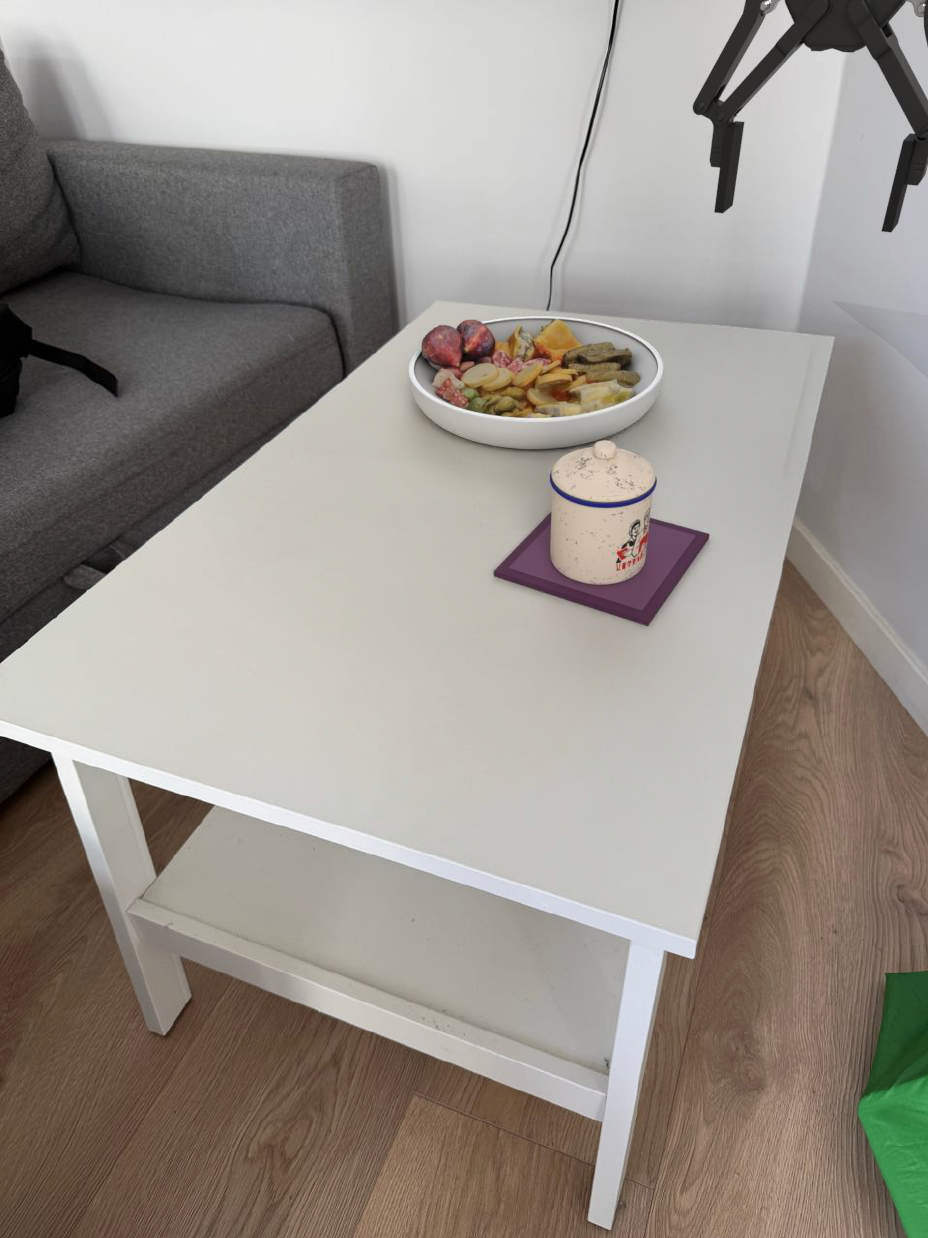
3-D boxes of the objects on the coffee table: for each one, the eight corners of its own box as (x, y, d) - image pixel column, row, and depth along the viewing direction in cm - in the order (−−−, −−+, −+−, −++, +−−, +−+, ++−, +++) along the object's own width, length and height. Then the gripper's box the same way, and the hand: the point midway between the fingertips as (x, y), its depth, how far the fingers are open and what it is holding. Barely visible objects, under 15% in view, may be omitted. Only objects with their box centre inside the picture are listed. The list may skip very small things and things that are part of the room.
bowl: (681, 367, 117) (689, 306, 112) (626, 480, 96) (633, 411, 91) (464, 341, 126) (462, 284, 121) (369, 440, 105) (362, 375, 100)
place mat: (709, 538, 87) (709, 533, 86) (648, 626, 77) (648, 620, 77) (566, 499, 93) (567, 494, 93) (493, 576, 83) (493, 570, 83)
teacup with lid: (633, 597, 79) (646, 479, 72) (534, 576, 82) (536, 461, 75) (664, 525, 88) (678, 414, 80) (573, 509, 90) (578, 399, 83)
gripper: (1075, -117, 60) (973, 222, 73) (706, -105, 70) (676, 191, 84) (1067, -115, 55) (959, 249, 68) (671, -101, 65) (645, 212, 79)
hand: (803, 218), depth 76 cm, fingers open, 13 cm apart
